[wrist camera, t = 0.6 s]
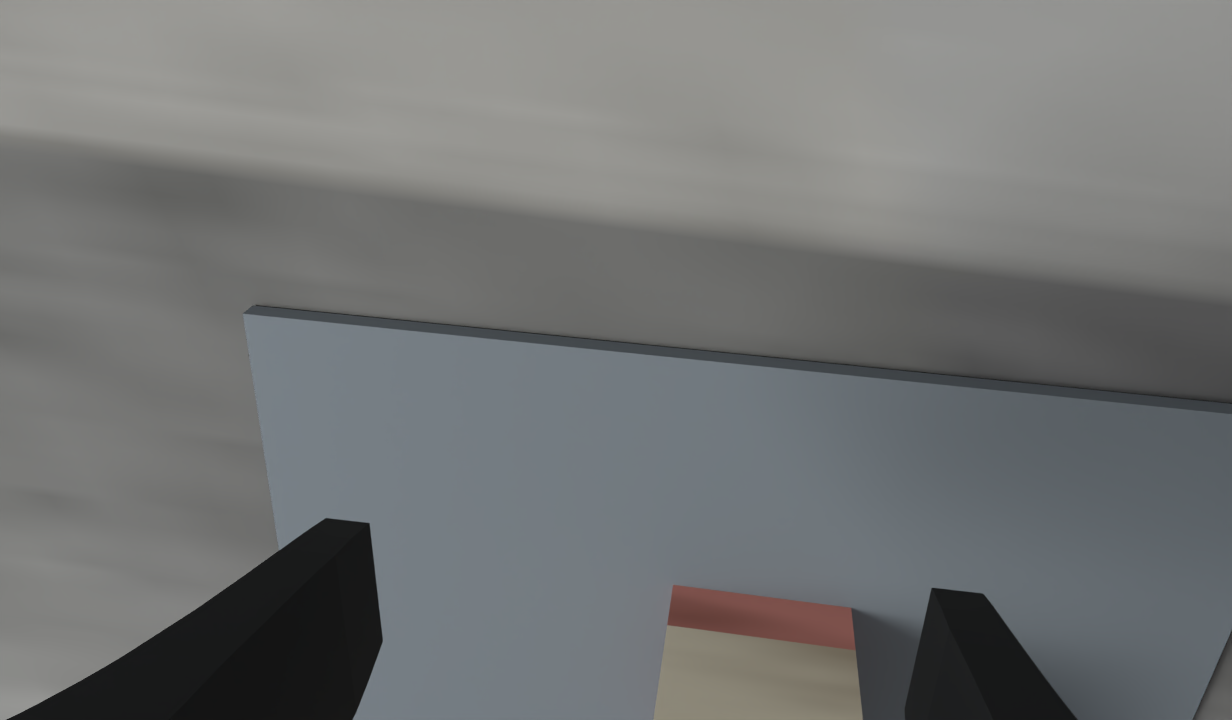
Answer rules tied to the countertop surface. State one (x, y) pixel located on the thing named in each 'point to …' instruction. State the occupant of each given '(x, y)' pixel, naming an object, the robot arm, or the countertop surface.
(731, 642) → the birch block
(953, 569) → the slate mat
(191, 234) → the countertop surface
